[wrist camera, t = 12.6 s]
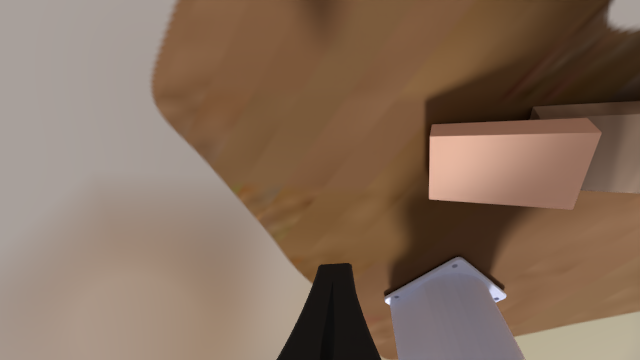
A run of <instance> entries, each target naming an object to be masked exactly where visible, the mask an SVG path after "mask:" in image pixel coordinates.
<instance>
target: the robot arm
mask: <svg viewBox="0 0 640 360" xmlns="http://www.w3.org/2000/svg"><path fill="white" fill-rule="evenodd" d="M506 296H507V295H506V294H505V292H504V291H503V290H502V289H500V288H499V287H498V286H497V285H495V284H494V283H493V282H492V281H490V280H489V279H488V278H487V277H486V276H484V275H483V274H482V273H481V272H479V271H478V270H477V269H476V268H474V267H473V266H472V265H471V264H470V263H468V262H467V261H466V260H465V259H463V258H462V257H456V258H454V259H452V260H450V261H448V262H446V263H445V264H443V265H441V266H439V267H437V268H436V269H434V270H432V271H430V272H428V273H427V274H425V275H423V276H421V277H419V278H418V279H416V280H414V281H412V282H410V283H409V284H407V285H405V286H403V287H401V288H400V289H398V290H396V291H394V292H392V293H391V294H389V295H387V296H385V298H384V299H385V302H386V303H387V304H389V305H390V309H391V315H392V321H393V327H394V334H395V340H396V346H397V352H398V359H399V360H526V359H525V358H524V356H523V354H522V352H521V350H520V348H519V346H518V344H517V342H516V340H515V339H514V337H513V335H512V333H511V331H510V329H509V327H508V325H507V323H506V322H505V320H504V318H503V316H502V314H501V312H500V310H499V308H498V306H497V305H496V303H495V302H498V301H500V300H502V299H504V298H506ZM277 360H381V358H380V355H379V353H378V351H377V349H376V346H375V344H374V342H373V339H372V337H371V334H370V332H369V329H368V327H367V324H366V321H365V319H364V316H363V313H362V310H361V307H360V304H359V301H358V298H357V294H356V290H355V284H354V278H353V272H352V265H351V264H349V263H342V264H324V265H320V266H319V267H318V270H317V274H316V277H315V280H314V283H313V285H312V288H311V291H310V293H309V296H308V298H307V301H306V303H305V305H304V307H303V310H302V312H301V314H300V316H299V319H298V321H297V323H296V324H295V327H294V329H293V331H292V333H291V335H290V337H289V338H288V340H287V342H286V344H285V346H284V348H283V349H282V351H281V353H280V355H279V356H278V358H277Z"/></svg>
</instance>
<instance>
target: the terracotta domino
mask: <svg viewBox="0 0 640 360" xmlns="http://www.w3.org/2000/svg"><path fill="white" fill-rule="evenodd" d="M601 134H602V132H601V131H600V130H599V129H598V128H597V127H596V126H595V125H594V124H593V123H592V122H591V121H590V120H589V119H588V118H571V119H547V120H523V121H500V122H476V123H452V124H432V127H431V133H430V166H429V199H431V200H445V201H459V202H473V203H487V204H501V205H515V206H529V207H543V208H557V209H571V210H573V208H574V205H575V202H576V200H577V197H578V194H579V192H580V189H581V186H582V184H583V181H584V179H585V176H586V173H587V171H588V168H589V165H590V163H591V160H592V157H593V155H594V152H595V150H596V147H597V144H598V142H599V139H600V136H601Z"/></svg>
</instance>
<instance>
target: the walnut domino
mask: <svg viewBox="0 0 640 360" xmlns="http://www.w3.org/2000/svg"><path fill="white" fill-rule="evenodd" d="M571 118H588V119H589V120H590V121H591V122H592V123H593V124H594V125H595V126H596V127H597V128H598V129H599V130H600V131H601V132H602V134H601V136H600V139H599V142H598V144H597V147H596V150H595V152H594V155H593V157H592V160H591V163H590V165H589V168H588V171H587V173H586V176H585V179H584V181H583V184H582V186H581V189H580V190H585V191H603V192H622V193H640V101H630V102H611V103H592V104H573V105H554V106H535V107H533V108H532V113H531V117H530V120H547V119H571Z"/></svg>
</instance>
